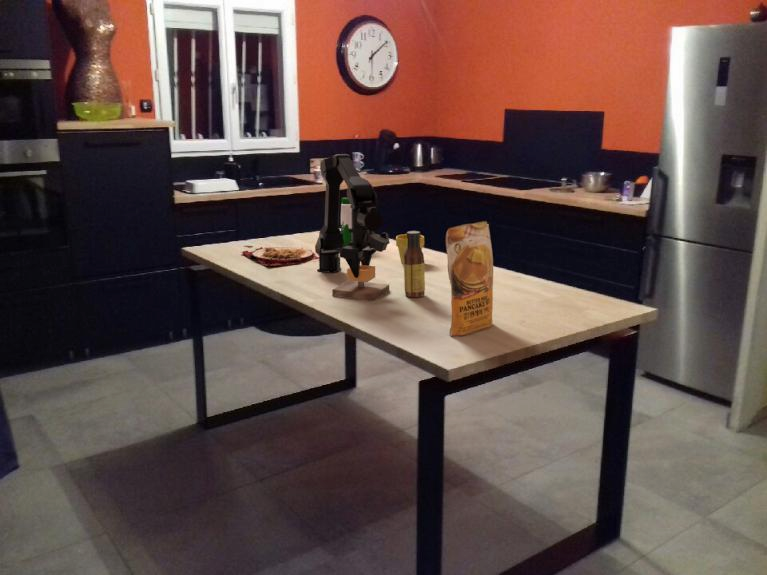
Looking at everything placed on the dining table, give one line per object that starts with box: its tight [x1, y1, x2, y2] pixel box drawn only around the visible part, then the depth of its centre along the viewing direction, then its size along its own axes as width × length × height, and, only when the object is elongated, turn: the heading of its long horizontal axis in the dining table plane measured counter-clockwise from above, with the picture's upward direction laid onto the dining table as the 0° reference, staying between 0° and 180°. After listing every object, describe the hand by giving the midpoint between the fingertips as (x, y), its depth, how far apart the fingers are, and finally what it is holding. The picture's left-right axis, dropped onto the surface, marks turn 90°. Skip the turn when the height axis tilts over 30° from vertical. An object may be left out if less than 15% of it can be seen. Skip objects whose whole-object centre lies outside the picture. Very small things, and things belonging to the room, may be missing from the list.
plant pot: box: [395, 233, 425, 265], centre depth 255 cm, size 10×10×10 cm
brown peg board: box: [331, 280, 390, 302], centre depth 216 cm, size 14×12×7 cm
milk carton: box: [340, 197, 352, 247], centre depth 278 cm, size 9×9×20 cm
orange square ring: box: [346, 264, 376, 282], centre depth 215 cm, size 7×7×4 cm
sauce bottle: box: [403, 230, 426, 299], centre depth 212 cm, size 7×6×20 cm
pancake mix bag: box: [445, 220, 494, 337], centre depth 181 cm, size 7×19×28 cm, turn 131°
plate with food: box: [241, 245, 319, 267], centre depth 264 cm, size 25×26×4 cm
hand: (361, 274), depth 215 cm, fingers closed on orange square ring, 7 cm apart
